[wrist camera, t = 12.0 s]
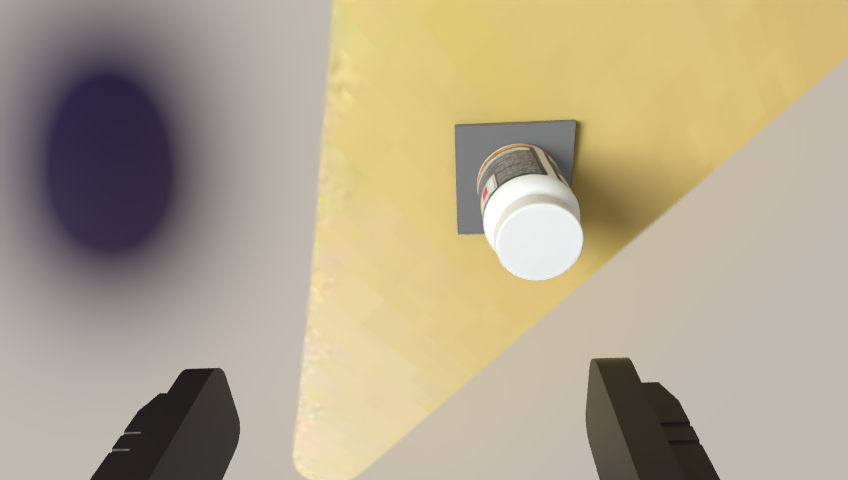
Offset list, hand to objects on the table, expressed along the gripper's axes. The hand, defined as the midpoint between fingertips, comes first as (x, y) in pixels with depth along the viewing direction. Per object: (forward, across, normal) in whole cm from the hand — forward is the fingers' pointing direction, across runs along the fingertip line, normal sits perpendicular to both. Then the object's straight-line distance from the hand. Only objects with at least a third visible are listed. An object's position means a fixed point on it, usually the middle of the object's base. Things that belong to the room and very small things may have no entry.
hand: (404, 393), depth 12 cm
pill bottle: (+27, -5, +5) cm, 28 cm away
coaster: (+27, -5, +5) cm, 28 cm away
